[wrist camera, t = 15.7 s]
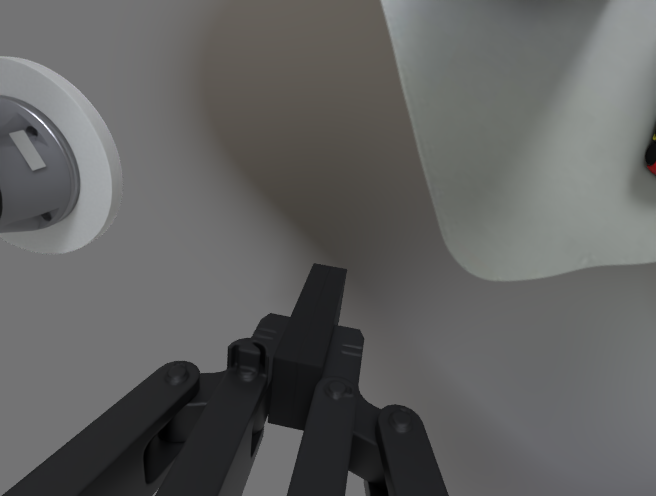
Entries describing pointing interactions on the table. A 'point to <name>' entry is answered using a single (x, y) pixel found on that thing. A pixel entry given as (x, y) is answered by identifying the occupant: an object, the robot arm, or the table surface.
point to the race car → (652, 156)
